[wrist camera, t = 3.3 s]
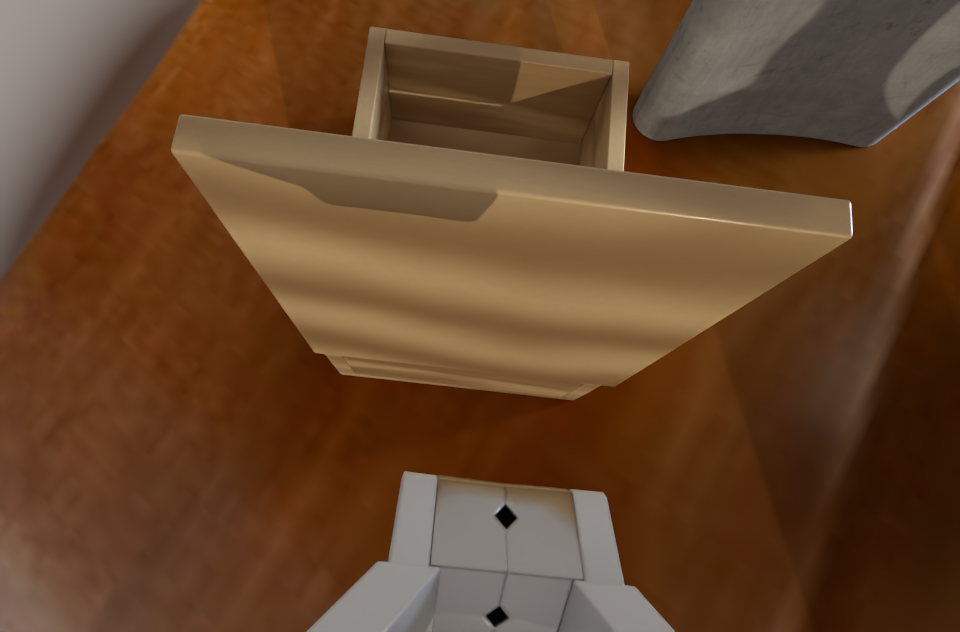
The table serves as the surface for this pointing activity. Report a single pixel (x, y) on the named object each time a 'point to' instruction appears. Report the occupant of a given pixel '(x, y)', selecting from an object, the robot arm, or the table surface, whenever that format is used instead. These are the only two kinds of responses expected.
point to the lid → (494, 249)
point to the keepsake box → (488, 137)
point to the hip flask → (801, 68)
